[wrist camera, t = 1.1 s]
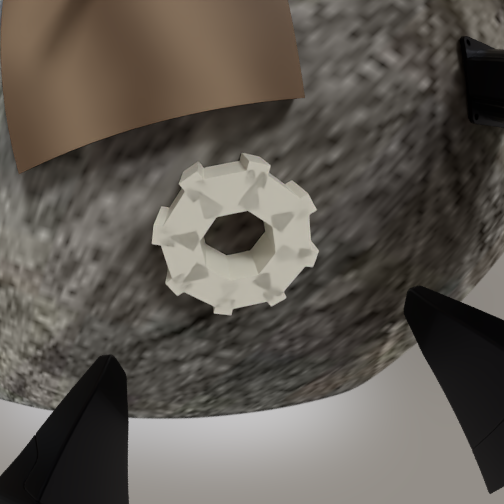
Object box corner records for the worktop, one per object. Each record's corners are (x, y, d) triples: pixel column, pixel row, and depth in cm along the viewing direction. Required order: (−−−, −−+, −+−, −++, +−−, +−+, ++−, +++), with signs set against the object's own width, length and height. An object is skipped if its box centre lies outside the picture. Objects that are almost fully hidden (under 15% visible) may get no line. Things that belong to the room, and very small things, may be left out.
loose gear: (294, 144, 13) (311, 151, 11) (305, 270, 17) (320, 294, 15) (146, 173, 13) (134, 186, 11) (183, 296, 16) (181, 324, 14)
